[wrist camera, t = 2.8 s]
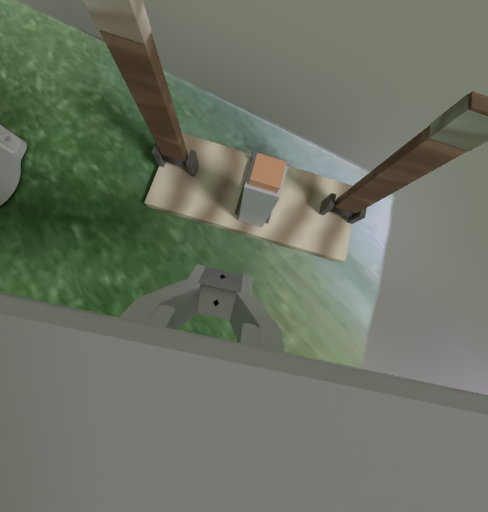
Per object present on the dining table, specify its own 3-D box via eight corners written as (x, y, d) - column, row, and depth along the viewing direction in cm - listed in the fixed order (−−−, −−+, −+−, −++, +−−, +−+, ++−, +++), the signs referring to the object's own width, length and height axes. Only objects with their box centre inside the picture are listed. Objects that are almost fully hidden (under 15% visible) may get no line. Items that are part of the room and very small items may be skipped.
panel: (148, 207, 29) (134, 193, 25) (176, 137, 32) (167, 113, 27) (339, 262, 31) (358, 258, 26) (351, 192, 33) (371, 177, 29)
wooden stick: (348, 219, 30) (518, 125, 12) (327, 212, 30) (471, 109, 12) (349, 209, 30) (518, 105, 13) (329, 203, 30) (471, 88, 13)
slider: (262, 227, 29) (282, 192, 18) (238, 220, 29) (244, 181, 18) (267, 205, 29) (291, 159, 19) (244, 198, 29) (254, 148, 18)
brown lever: (187, 170, 29) (125, -9, 11) (165, 164, 29) (66, -29, 11) (191, 161, 29) (135, -28, 12) (169, 154, 29) (78, -48, 11)
